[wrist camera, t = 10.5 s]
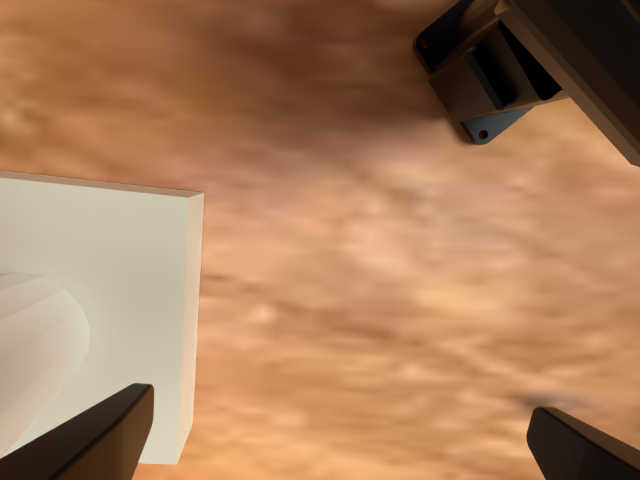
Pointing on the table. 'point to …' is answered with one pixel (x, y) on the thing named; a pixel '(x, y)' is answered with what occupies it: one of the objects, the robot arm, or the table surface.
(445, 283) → the table surface
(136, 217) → the base block
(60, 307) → the white cup
